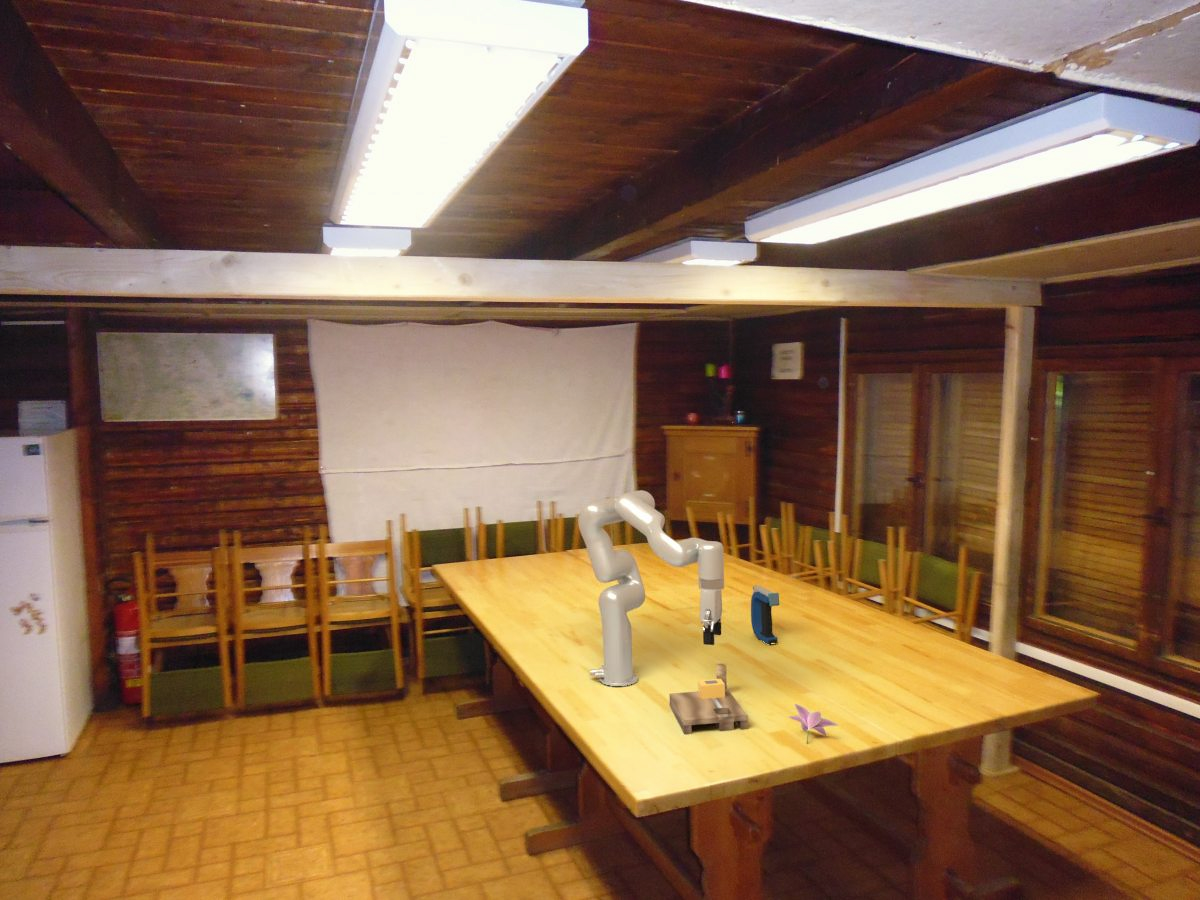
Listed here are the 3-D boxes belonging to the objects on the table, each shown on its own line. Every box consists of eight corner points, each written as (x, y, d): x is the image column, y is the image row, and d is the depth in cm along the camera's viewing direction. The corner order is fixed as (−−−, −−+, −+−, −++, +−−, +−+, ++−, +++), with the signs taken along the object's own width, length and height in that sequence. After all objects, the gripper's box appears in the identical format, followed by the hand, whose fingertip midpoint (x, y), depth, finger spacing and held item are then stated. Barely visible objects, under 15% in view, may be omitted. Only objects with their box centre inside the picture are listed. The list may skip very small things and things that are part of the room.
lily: (842, 749, 215) (843, 711, 218) (810, 741, 209) (811, 703, 213) (809, 748, 224) (810, 712, 228) (777, 740, 219) (779, 704, 223)
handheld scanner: (769, 647, 296) (769, 594, 295) (750, 634, 311) (750, 584, 310) (781, 646, 297) (781, 593, 296) (761, 633, 313) (760, 583, 311)
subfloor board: (684, 734, 225) (684, 720, 224) (669, 706, 244) (669, 693, 244) (747, 728, 227) (747, 714, 226) (728, 701, 247) (727, 688, 246)
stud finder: (701, 699, 239) (701, 685, 239) (698, 693, 243) (697, 680, 243) (725, 697, 240) (724, 683, 240) (721, 691, 244) (720, 678, 244)
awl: (718, 695, 252) (717, 667, 251) (716, 692, 255) (715, 664, 254) (728, 694, 252) (727, 666, 251) (725, 691, 255) (724, 663, 254)
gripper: (705, 575, 251) (706, 630, 252) (692, 589, 235) (693, 647, 236) (729, 577, 248) (730, 632, 250) (717, 591, 232) (718, 649, 234)
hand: (712, 639), depth 243 cm, fingers open, 9 cm apart
